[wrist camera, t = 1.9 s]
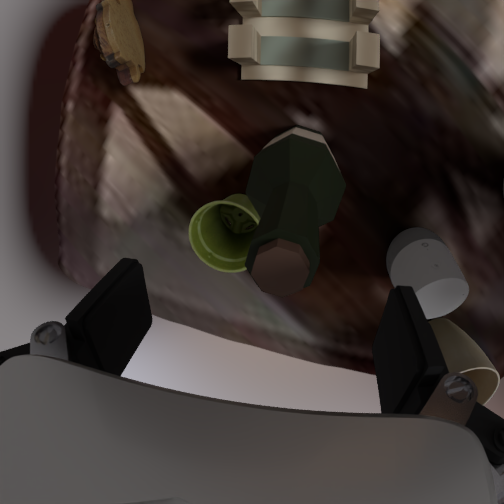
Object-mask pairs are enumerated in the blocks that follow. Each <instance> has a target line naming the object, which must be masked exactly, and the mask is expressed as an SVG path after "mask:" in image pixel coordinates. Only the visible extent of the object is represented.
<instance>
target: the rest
mask: <svg viewBox="0 0 504 504" xmlns="http://www.w3.org/2000/svg"><path fill="white" fill-rule="evenodd" d="M230 3H231V5H232V6H233V7H234V8H235V9H236V10H237V11H238V12H239V14H240V15H241V16H242V17H243V25H229V37H228V58H229V59H231V60H233V61H235V62H237V63H239V64H241V65H242V69H241V79H242V80H282V81H300V82H314V83H325V84H334V85H343V86H351V87H358V88H365V89H367V76H368V73H370V72H372V71H374V70H376V69H379V61H380V34H374V33H368V25H369V23H370V22H371V21H372V20H373V18H374V17H375V16H376V14H377V13H378V12H379V0H230Z"/></svg>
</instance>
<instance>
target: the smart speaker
mask: <svg viewBox="0 0 504 504" xmlns="http://www.w3.org/2000/svg"><path fill="white" fill-rule="evenodd" d="M386 265H387V270H388V274H389V276H390V279H391V281H392V283H393V285H394V287H396V286H397V285H401V286H411V287H412V288H413V290H414V292H415V294H416V296H417V298H418V301H419V303H420V305H421V307H422V310H423V312H424V314H425V317H426V319H432V318H437V317H440V316H443V315H445V314H448V313H450V312H451V311H453V310H455V309H456V308H457V307H458V306H460V305H461V304H462V303H463V302H464V300H465V299H466V297H467V295H468V293H469V286H468V284H467V282H466V280H465V278H464V276H463V274H462V272H461V270H460V268H459V267H458V265H457V263H456V261H455V259H454V258H453V256H452V254H451V252H450V251H449V249H448V248H447V246H446V245H445V243H444V242H443V241H442V239H441V238H440V237H439V236H438V235H436V234H435V233H434V232H432V231H430V230H428V229H425V228H420V227H414V228H409V229H406V230H404V231H402V232H401V233H399V234H398V235H397V236H396V237H395V238H394V239H393V241H392V242H391V244H390V246H389V248H388V251H387V257H386Z"/></svg>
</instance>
